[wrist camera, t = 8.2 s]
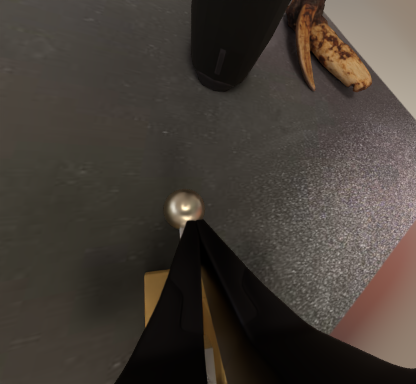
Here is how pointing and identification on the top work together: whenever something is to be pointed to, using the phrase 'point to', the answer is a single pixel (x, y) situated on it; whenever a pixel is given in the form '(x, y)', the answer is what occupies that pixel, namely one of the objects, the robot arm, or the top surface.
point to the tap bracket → (153, 291)
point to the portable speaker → (231, 37)
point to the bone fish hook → (324, 46)
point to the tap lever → (177, 217)
